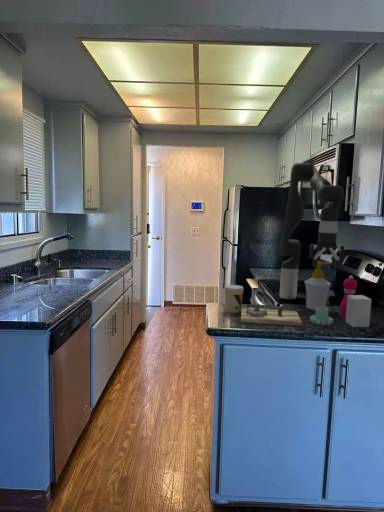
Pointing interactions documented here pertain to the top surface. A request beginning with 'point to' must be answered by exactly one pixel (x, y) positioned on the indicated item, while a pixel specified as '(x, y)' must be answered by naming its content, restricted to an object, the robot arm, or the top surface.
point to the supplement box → (358, 310)
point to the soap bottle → (317, 288)
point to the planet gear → (321, 316)
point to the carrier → (270, 316)
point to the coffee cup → (233, 298)
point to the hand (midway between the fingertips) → (325, 268)
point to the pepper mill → (347, 293)
